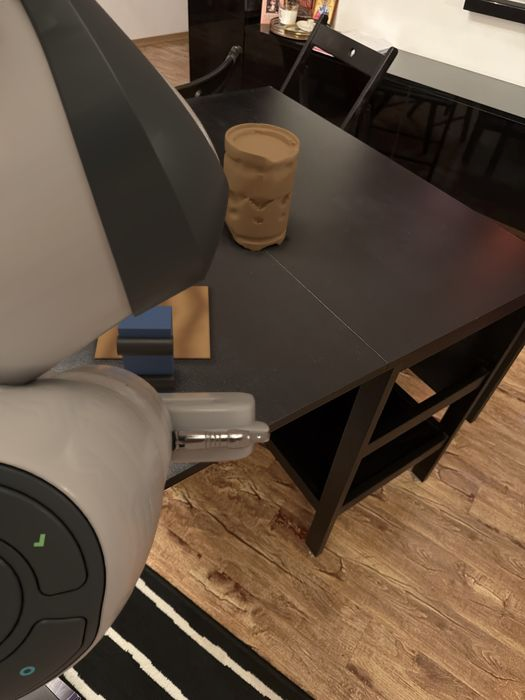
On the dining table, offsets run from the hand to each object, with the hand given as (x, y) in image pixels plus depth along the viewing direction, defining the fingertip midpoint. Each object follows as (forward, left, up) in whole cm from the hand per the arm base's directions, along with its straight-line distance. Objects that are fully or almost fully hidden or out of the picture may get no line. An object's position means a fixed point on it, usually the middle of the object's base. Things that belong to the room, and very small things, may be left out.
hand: (127, 407), depth 40 cm
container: (+17, +54, -18) cm, 60 cm away
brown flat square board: (0, +29, -18) cm, 34 cm away
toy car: (0, +17, -18) cm, 25 cm away
